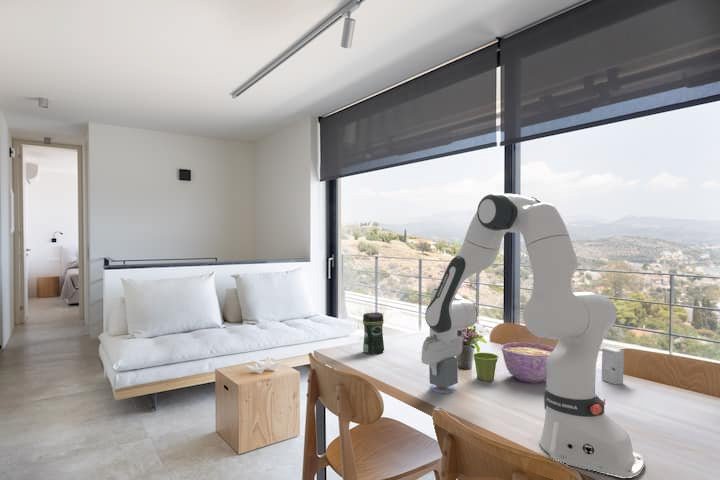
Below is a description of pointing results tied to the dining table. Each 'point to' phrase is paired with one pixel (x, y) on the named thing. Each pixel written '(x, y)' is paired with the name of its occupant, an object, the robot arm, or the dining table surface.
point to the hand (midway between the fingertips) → (442, 372)
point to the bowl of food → (526, 360)
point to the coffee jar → (373, 333)
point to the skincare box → (612, 365)
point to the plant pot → (485, 365)
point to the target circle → (446, 390)
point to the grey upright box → (445, 373)
